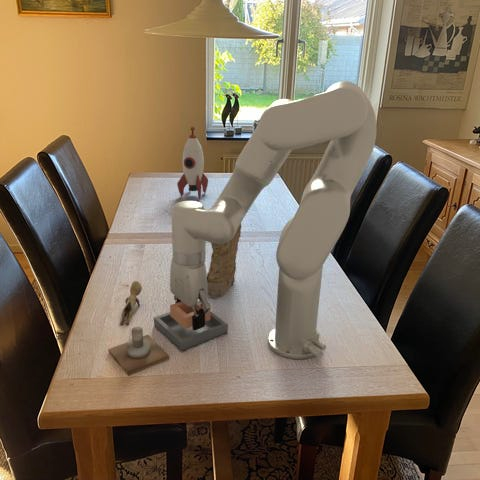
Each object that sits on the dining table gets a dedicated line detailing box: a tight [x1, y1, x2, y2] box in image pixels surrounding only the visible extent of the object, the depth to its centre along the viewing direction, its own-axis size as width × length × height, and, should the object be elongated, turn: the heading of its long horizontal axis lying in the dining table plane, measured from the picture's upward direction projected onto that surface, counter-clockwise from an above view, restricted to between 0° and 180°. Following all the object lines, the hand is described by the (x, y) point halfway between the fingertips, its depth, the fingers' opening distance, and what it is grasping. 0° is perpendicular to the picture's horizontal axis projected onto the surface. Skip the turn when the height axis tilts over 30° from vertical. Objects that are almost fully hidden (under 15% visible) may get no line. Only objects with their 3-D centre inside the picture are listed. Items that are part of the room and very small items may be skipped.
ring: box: [169, 299, 211, 329], centre depth 119 cm, size 7×7×3 cm
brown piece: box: [108, 326, 170, 377], centre depth 110 cm, size 10×10×7 cm
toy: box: [177, 126, 209, 200], centre depth 211 cm, size 11×11×30 cm
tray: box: [153, 310, 229, 353], centre depth 121 cm, size 13×13×3 cm
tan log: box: [206, 223, 242, 299], centre depth 132 cm, size 14×10×30 cm
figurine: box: [119, 280, 143, 326], centre depth 129 cm, size 4×4×15 cm
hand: (190, 320), depth 120 cm, fingers closed on ring, 7 cm apart
